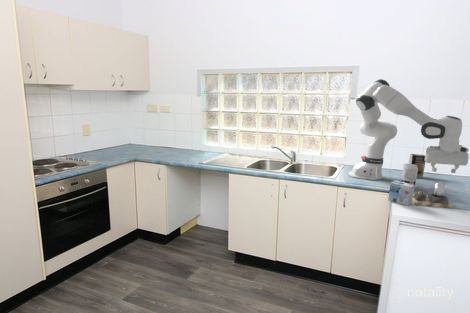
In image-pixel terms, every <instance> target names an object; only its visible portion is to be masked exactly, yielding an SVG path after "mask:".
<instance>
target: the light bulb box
mask: <svg viewBox="0 0 470 313" xmlns="http://www.w3.org/2000/svg"><path fill="white" fill-rule="evenodd" d="M414 187H415V188H416V184H415V185H413V184H409V183H404V182H401V180H400V181H399V180H396V179H395V180H393V181H391V182H390V186H389V192H388V198H387V201H390V202H393V203H395V204H400V205H403V206H406V207H409V205H411V204H413V202H412V199H413V196H414V193H415V188H414Z"/></svg>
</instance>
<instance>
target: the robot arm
mask: <svg viewBox="0 0 470 313" xmlns="http://www.w3.org/2000/svg"><path fill="white" fill-rule="evenodd" d="M355 103H356V106H357V107H358V108H359V111H360V113H361V116H362V119H363V122H362V123H361V124H360V126H359V131H360V133H361V134H362V135H364V136H367V137H371V138H374V140H373V142H370V143H369V144H367V146H366V152H365V155H361V156H360V158H361V161H360V162H358V163H356V164H354V165H353V166H352V170H350V171H348V175H349V176H350V177H352V178H356V179H363V180H369V181H370V180H372V181H377V180H382V179H383V164H384V153H385V147H386V145H387V144H388V143H389V142H390V141H391V140H392V139H394V138H396V136H397V135H398V134H397V133H398V128H397V126H396V125H395V124H393V123H390V122H383V121H379V120H380V118H381V115H382V112H381V108H380V107H379V105H378V104H380V105H382V107H384V108H385V109H387V111H389V112H391V113H393V114H394V115H399V116H404V117H407V118H410V119H411V120H413V121H414V122H415V123H417V124H418V125H419V126H421V129H420V133H421V135H422V137H424V138H426V139H429V140H436V139H437V140H438V139H439V142H438V146H437V145H435V146H434V145H430V146H427V148H426V149H425V154H424V156H425V159H424V160H425V163H426V164H430V166H431V167H432V169H431V171H432V172H435V173H436V172H437V170H438V169H437V167H435V166H436V164H438V165H452V166H454V167H453V168H451V169H450V173H452V174H456V172H457V170H458V169H459V168H460V166H467V165H468V164H469V151H470V150H469V148H468V147H467V146H464V145H462V144H460V137H461V136H462V130H463V120H462V119H461V118H459V117H457V116H451V115H446V116H444V117H442V118H439V119H436V118H433V117H431V116H429V115H427V114H426V113H424V111H422V110H420V109H419V108H418V107H417V106H415V104H413V103H412V101H410V100H409V98H407V97H406V96H405V95H404V94H403V93H402V92H400V91H398V90H397V89H396V88H393V87H392V86H390V84H389V82H388V81H387V80H384V79H383V78H381V79H377V80H376V81H374V82H373V83H372V84H370V85H369V86H368V87H366V89H364V90H363V91H362V92H361V94H359V95H358V96H357V98H356V99H355Z"/></svg>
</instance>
